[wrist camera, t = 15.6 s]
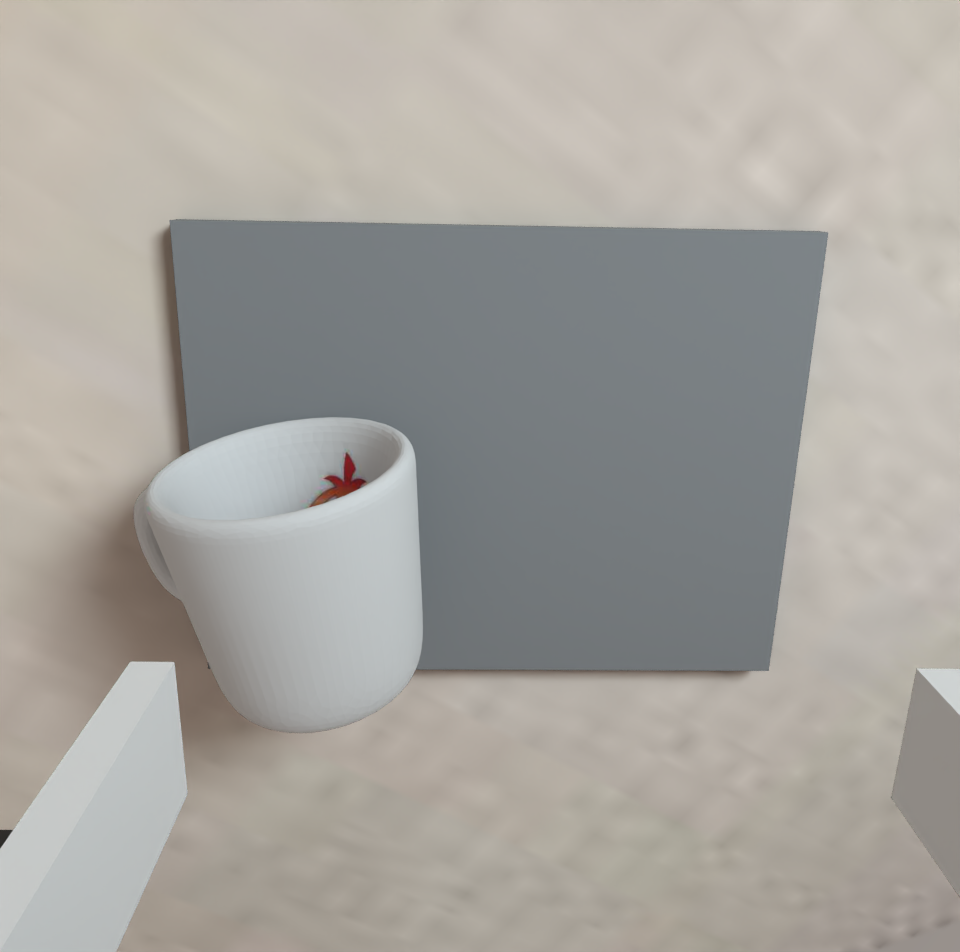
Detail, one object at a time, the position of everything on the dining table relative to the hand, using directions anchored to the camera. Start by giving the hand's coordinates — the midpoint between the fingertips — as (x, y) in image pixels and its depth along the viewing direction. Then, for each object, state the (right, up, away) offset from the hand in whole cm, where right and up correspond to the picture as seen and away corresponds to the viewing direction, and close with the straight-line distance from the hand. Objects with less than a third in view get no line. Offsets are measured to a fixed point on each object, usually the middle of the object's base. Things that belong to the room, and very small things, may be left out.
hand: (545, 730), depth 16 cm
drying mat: (-1, +5, +16) cm, 17 cm away
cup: (-7, -2, +15) cm, 17 cm away
